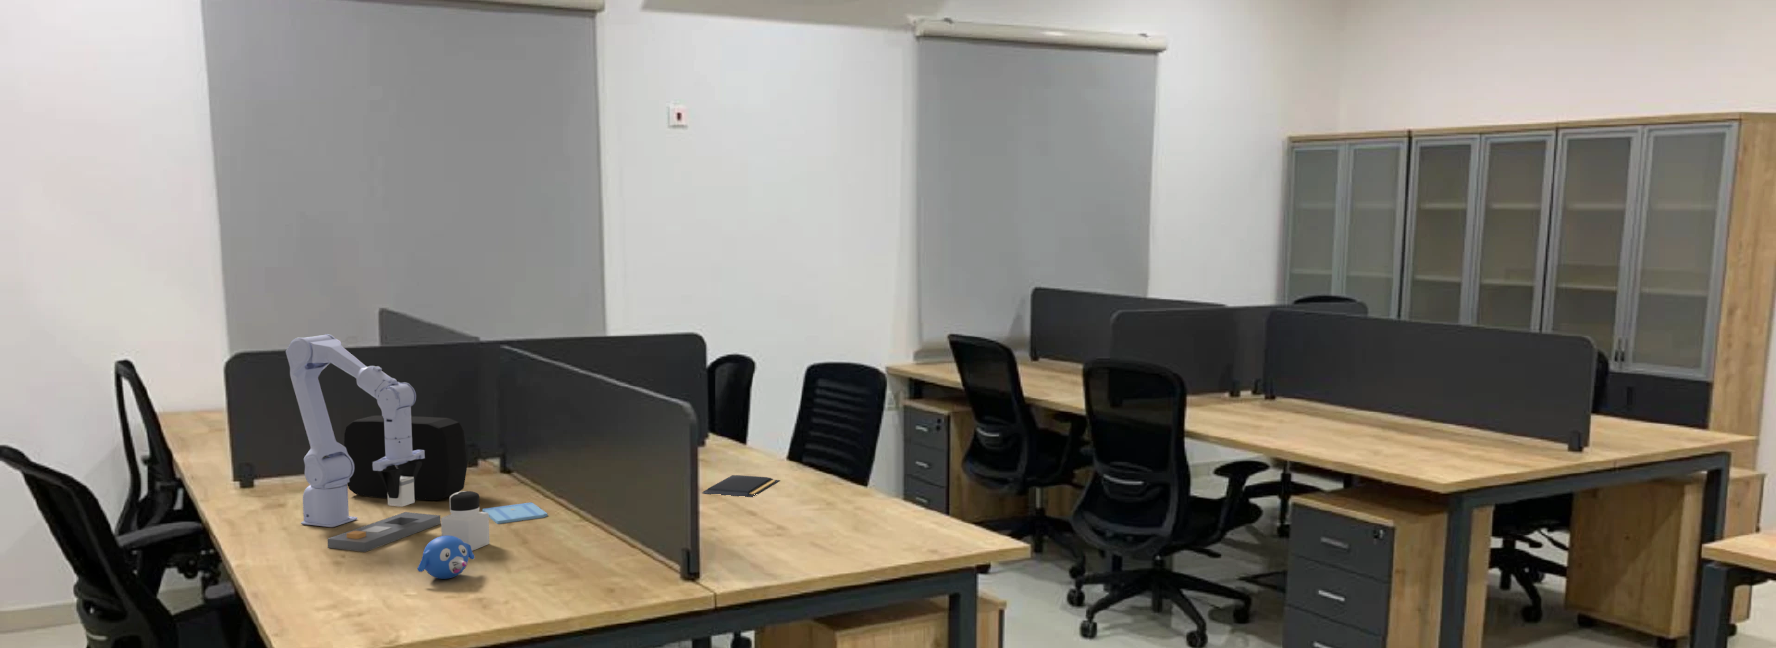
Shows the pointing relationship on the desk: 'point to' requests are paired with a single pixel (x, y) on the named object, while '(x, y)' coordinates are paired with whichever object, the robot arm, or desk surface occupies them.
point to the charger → (404, 492)
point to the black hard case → (430, 434)
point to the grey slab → (383, 531)
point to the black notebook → (741, 486)
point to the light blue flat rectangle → (515, 513)
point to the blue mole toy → (445, 557)
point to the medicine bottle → (466, 520)
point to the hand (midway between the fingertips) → (400, 495)
